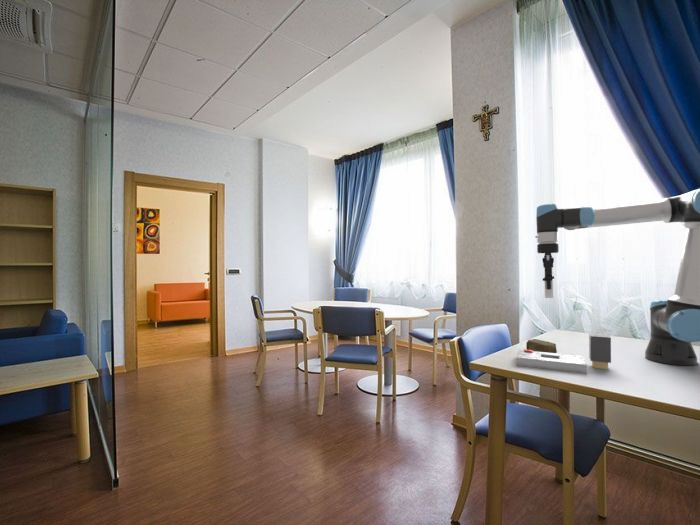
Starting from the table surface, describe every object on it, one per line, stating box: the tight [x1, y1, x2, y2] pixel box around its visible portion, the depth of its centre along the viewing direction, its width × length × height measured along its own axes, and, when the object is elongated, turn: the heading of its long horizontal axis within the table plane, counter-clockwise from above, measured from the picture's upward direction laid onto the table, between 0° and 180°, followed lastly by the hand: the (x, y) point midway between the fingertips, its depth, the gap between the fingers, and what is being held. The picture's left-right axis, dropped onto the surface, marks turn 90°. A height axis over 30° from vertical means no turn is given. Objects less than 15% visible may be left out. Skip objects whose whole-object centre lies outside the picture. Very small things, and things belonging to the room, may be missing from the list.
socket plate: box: [516, 348, 588, 374], centre depth 136 cm, size 22×13×4 cm, turn 62°
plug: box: [588, 333, 612, 370], centre depth 133 cm, size 6×5×12 cm
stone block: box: [525, 338, 558, 353], centre depth 154 cm, size 6×12×5 cm, turn 20°
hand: (549, 296), depth 145 cm, fingers open, 13 cm apart
